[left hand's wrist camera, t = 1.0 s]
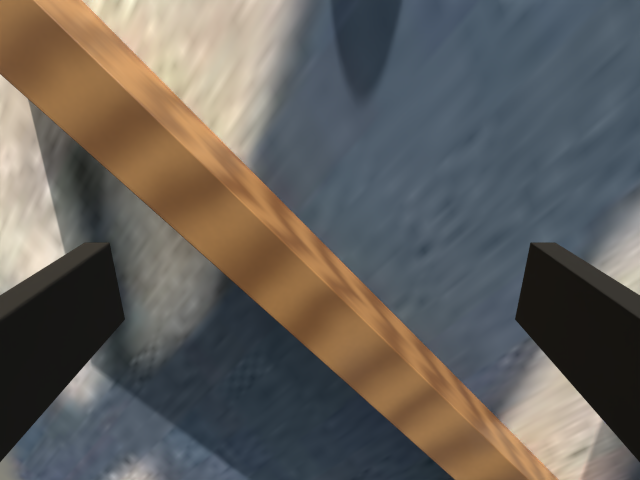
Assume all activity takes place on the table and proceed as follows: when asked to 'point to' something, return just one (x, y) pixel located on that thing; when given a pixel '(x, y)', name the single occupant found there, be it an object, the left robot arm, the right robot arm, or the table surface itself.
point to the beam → (247, 231)
